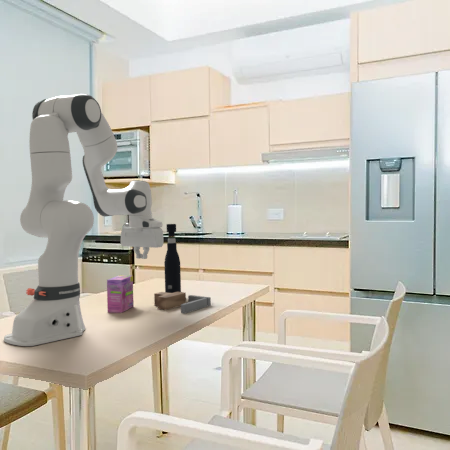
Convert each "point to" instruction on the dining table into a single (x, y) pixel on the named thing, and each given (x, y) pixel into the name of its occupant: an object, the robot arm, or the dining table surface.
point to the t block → (169, 300)
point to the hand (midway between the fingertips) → (141, 258)
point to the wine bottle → (172, 263)
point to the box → (120, 293)
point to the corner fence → (195, 303)
